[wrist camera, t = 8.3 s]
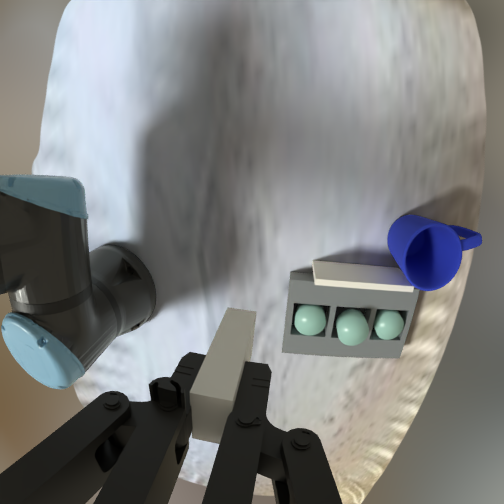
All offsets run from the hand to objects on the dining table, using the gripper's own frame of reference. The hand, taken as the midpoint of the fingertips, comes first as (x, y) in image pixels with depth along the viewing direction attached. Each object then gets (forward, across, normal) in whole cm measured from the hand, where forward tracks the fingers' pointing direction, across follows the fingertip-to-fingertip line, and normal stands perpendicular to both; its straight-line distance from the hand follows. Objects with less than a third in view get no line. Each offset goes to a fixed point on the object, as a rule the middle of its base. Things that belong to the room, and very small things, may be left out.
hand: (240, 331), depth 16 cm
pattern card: (+28, +12, -5) cm, 31 cm away
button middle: (+25, +13, -12) cm, 31 cm away
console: (+28, +13, -12) cm, 33 cm away
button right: (+27, +19, -12) cm, 35 cm away
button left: (+27, +7, -12) cm, 31 cm away
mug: (+28, +21, +2) cm, 35 cm away
